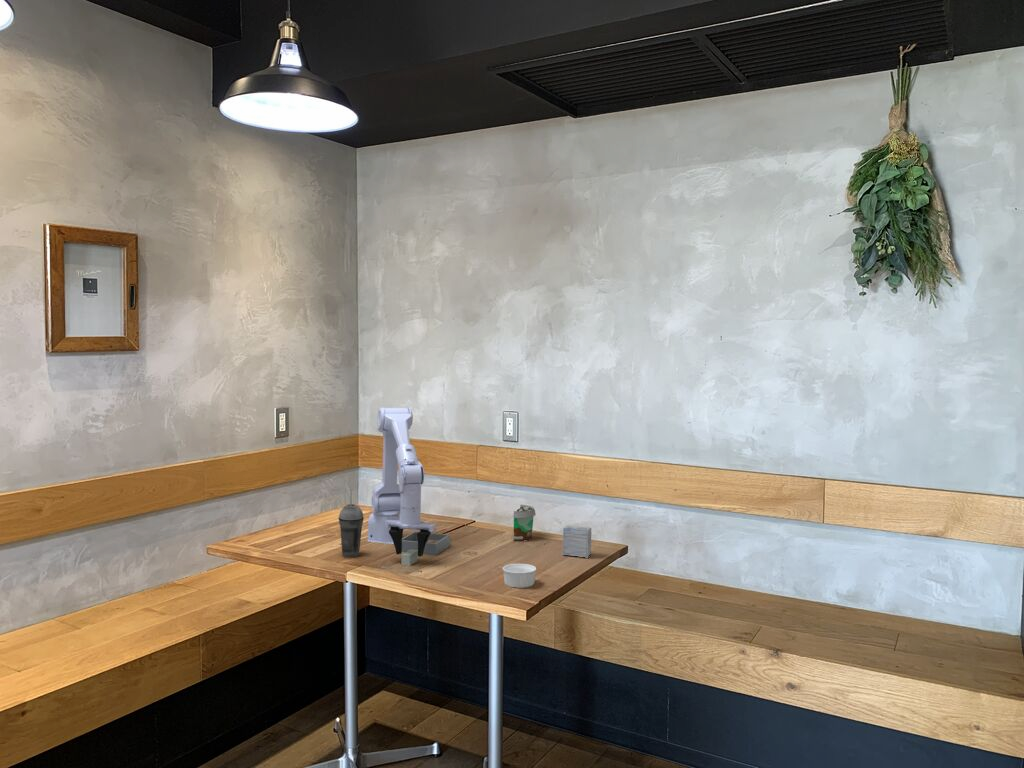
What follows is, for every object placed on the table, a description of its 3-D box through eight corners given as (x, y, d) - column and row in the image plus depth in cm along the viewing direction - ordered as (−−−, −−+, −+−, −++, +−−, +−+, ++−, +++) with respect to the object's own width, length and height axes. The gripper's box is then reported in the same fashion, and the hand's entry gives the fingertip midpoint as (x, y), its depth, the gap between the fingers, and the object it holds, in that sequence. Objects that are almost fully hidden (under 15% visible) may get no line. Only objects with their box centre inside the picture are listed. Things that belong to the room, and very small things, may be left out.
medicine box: (591, 555, 233) (592, 527, 233) (587, 559, 229) (588, 530, 228) (566, 552, 236) (566, 524, 235) (562, 556, 231) (562, 527, 231)
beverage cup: (341, 562, 219) (342, 492, 218) (335, 555, 226) (335, 488, 225) (366, 559, 222) (367, 490, 222) (359, 553, 229) (360, 486, 228)
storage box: (398, 553, 230) (398, 540, 230) (414, 544, 241) (414, 531, 241) (435, 557, 226) (435, 543, 226) (449, 547, 238) (450, 534, 238)
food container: (531, 543, 245) (532, 512, 245) (512, 542, 247) (513, 511, 246) (537, 535, 257) (538, 505, 257) (519, 533, 259) (520, 504, 258)
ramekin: (497, 586, 200) (497, 570, 200) (509, 577, 209) (510, 561, 208) (529, 591, 197) (529, 574, 197) (540, 581, 205) (541, 565, 205)
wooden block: (427, 548, 234) (428, 542, 234) (428, 546, 237) (428, 539, 236) (437, 548, 234) (437, 542, 234) (438, 546, 237) (438, 539, 237)
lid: (381, 569, 214) (381, 555, 214) (398, 559, 225) (399, 545, 225) (421, 574, 211) (421, 559, 211) (437, 562, 222) (437, 549, 222)
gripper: (380, 507, 215) (380, 555, 216) (429, 511, 211) (428, 560, 212) (391, 503, 222) (390, 549, 223) (438, 507, 218) (437, 554, 219)
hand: (409, 554), depth 218 cm, fingers open, 6 cm apart
